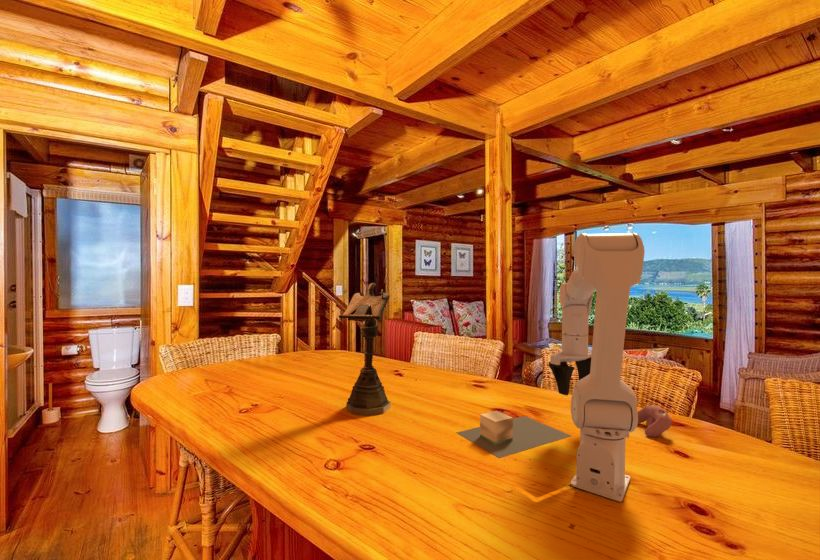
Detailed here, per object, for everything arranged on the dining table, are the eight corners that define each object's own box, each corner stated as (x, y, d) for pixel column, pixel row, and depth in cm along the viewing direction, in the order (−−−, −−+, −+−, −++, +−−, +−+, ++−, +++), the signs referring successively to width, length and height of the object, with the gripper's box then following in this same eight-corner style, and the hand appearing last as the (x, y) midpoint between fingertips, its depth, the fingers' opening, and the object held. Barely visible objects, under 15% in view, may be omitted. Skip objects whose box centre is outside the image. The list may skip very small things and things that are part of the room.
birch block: (512, 417, 83) (512, 440, 83) (497, 410, 88) (496, 432, 88) (495, 421, 81) (495, 445, 81) (480, 414, 85) (479, 436, 85)
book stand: (378, 425, 92) (380, 281, 92) (330, 418, 96) (332, 280, 96) (400, 404, 108) (402, 280, 108) (358, 399, 112) (359, 280, 112)
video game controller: (664, 446, 86) (679, 419, 86) (644, 435, 87) (660, 409, 87) (645, 429, 96) (659, 405, 96) (628, 419, 97) (642, 395, 96)
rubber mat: (499, 461, 75) (499, 458, 75) (456, 435, 87) (456, 432, 87) (571, 438, 86) (571, 435, 86) (524, 418, 98) (524, 415, 98)
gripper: (579, 330, 97) (578, 383, 97) (540, 334, 90) (539, 391, 90) (605, 334, 91) (605, 390, 91) (565, 338, 84) (564, 400, 84)
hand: (574, 391), depth 90 cm, fingers open, 7 cm apart
